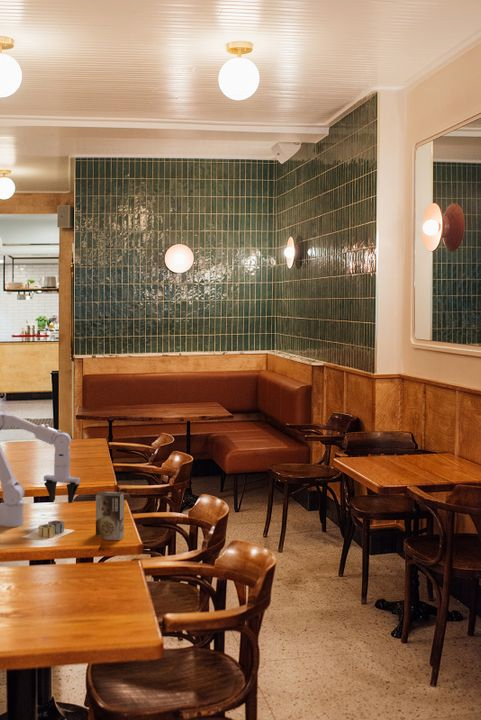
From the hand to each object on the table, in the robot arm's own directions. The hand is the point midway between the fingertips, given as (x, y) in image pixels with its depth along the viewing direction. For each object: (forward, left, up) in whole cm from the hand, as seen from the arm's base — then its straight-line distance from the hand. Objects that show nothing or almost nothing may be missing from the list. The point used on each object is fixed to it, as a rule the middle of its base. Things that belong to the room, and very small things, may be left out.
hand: (61, 501), depth 305 cm
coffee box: (+23, -5, -10) cm, 26 cm away
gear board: (+3, -13, -10) cm, 17 cm away
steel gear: (+4, -10, -9) cm, 14 cm away
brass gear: (+4, -16, -9) cm, 19 cm away
